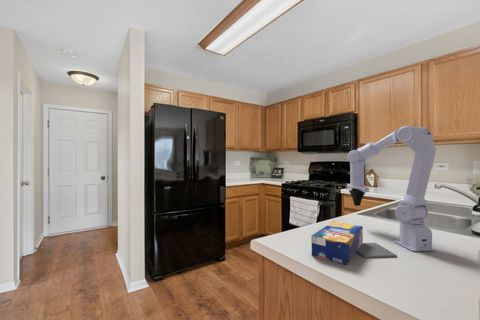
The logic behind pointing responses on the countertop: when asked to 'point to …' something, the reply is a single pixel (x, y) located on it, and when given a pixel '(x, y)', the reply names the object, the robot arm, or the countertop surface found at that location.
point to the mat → (374, 251)
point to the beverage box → (337, 242)
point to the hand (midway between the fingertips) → (357, 205)
